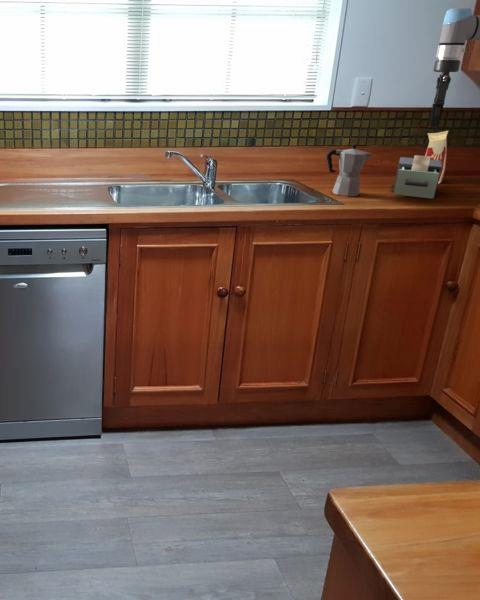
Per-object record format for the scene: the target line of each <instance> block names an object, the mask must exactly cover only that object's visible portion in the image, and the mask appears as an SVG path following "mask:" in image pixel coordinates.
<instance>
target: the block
mask: <svg viewBox="0 0 480 600" xmlns="http://www.w3.org/2000/svg"><path fill="white" fill-rule="evenodd" d="M413 158H414V160H413V165H412V169H411V170H414V171H425V172H427V171H428V167H429V162H430V156H425V155H418V154H417V155H416V154H415V155H414V156H413Z"/></svg>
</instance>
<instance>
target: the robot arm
mask: <svg viewBox="0 0 480 600" xmlns="http://www.w3.org/2000/svg"><path fill="white" fill-rule="evenodd" d="M467 41H480V15H476V14H473V9H472V8H465V7H463V8H460V7H459V8H458V7H457V8H450V9H448V10H447V11H446V12H445V15H444V19H443V22H442V28H441V32H440V38H439V42H438V46H437V50H436V55H435V58H436V60H435V61H434V66H433V72H434V73H440V74H439V76H438V77H437V79H436V86H435V89H436V91H435V96H434V98H433V103H432V105H431V106H432V108H431V113H430V118H429V123H430V124H429V127H432V128H440V123H441V118H442V114H443V111H444V106H445V101H446V96H447V91H448V90H449V87H450V84H451V81H452V78H451V75H450V73H458V72H459V70H460V68H461V67H460V66H461V62H462V61H461V60H460V59H461V58H462V57H463V53H464V52H466V48H464V47H465V46H466V42H467Z"/></svg>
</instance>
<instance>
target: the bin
mask: <svg viewBox="0 0 480 600" xmlns="http://www.w3.org/2000/svg"><path fill="white" fill-rule="evenodd" d="M411 169H412V167H407V166H403V167H402V169H399V172H398V177H397V182H396V186H395V191H394V193H393V195H396V196H404V197H412V198H413V197H414V198H423V199H432V200H433V199H434V198H435V197H434V194H435V195H436V193H435V190H436V191H437V189H436V186H437V187H438V185H437V181H438V177H439V173H437V170H436V169H429V168H428V171H427V172H425V171H414V170H411Z"/></svg>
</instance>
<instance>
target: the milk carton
mask: <svg viewBox="0 0 480 600" xmlns="http://www.w3.org/2000/svg"><path fill="white" fill-rule="evenodd" d="M448 133H449V130H445V131H439V132H429V133H426V134H427V136H428V140H429V141H428V145H427V148H426V152H425V155H424V156H430V160H441V164H442V168H441V172H440V177H439V181H438V184H441V183H442V182H443V179H444V175H445V171H446V167H447V166H446V164H447V154H448V150H447V149H448V148H447V147H448V145H447V144H448V143H447V137H448Z"/></svg>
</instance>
